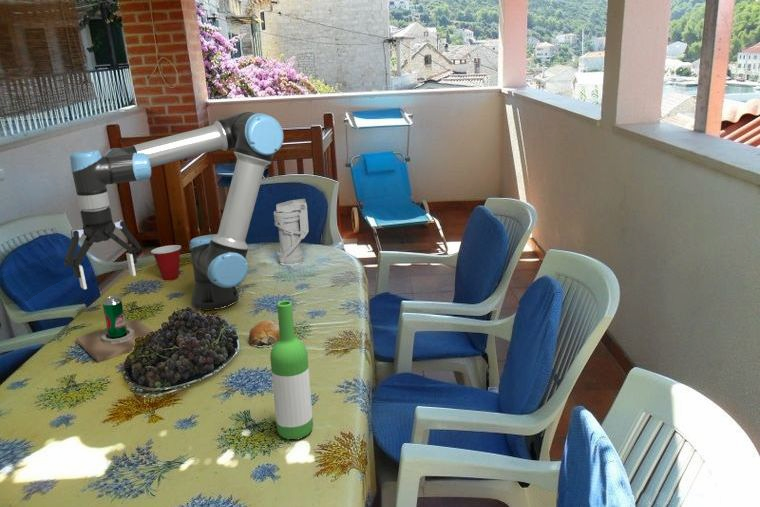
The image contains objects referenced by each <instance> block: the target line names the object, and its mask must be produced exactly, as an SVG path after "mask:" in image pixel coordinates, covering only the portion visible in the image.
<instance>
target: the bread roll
mask: <svg viewBox="0 0 760 507" xmlns="http://www.w3.org/2000/svg"><path fill="white" fill-rule="evenodd" d="M248 334H249V337H248V338H249V339H248V340H249V343H250V344H251V345H252V344H253V345H257V346H263V345H268V346H269V345H271V344H275V343H276V342H277V341H278V340H279V339H280V332H279V322H276V321H274V320H273V319H272V320H271V319H261V320H260V321H258V322H257V323H255V324H254V326H253V327H251V329H250V331H249V333H248ZM253 345H252V346H253Z"/></svg>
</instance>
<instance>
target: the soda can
mask: <svg viewBox="0 0 760 507" xmlns="http://www.w3.org/2000/svg"><path fill="white" fill-rule="evenodd" d="M102 301H103V302H102V309H103V314H104V319H105V324H106V328H107V331H108V336H109V338H110V339H118V338H122V337H125V336H127V328H126V318H125V312H124V307H123V301H122V299H121V297H120V296H116V295H115V296H114V295H113V296H108V297H105V298H104V299H103V300H102Z"/></svg>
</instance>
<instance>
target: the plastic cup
mask: <svg viewBox="0 0 760 507" xmlns="http://www.w3.org/2000/svg"><path fill="white" fill-rule="evenodd" d="M181 249H182V245H179V244H174V245H173V244H172V245H163V246H160V247H156V248H154V249H152V250H150V252H151V254H152V255H153V257H154V259H155V261H156V264H157V267H158V270H159V273H160V275H161V278H162V281H166V280H169V281H174V280H177V279H178V278H179V276H180V255H181Z"/></svg>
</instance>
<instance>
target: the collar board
mask: <svg viewBox="0 0 760 507" xmlns="http://www.w3.org/2000/svg"><path fill="white" fill-rule="evenodd" d="M125 323H126V328H127V336H125V337H122V338H118V339H110V338H109V336H108V331H107V327H106V328H104V329H100V330H97V331H94V332H89V333H87V334H84V335H83V334H82V335H81V336H76V337H75V341H76V342H75V343H77V344H78V345H79V344H80V345H81V346H82V347H83V348H84V349H85V350H86V351H87V352H88V353H89V354H88V353H87V352H86V351H85V350H84V349H83V348H82V347H81V346H80V345H79V346H80V347H81V348H82V349H83V350H84V351H85V352H86V353H87V354H88V355H89V356H90V357H92V358H93V359H94V361H95V362H97V363H102V362H105V361H108V360H111V359H113V357H114V358H117V357H119V355H120V356H122V354H123V355H125V353H126V354H128V352H129V353H131V352H130V351H132V350H133V347H134V344H135V339H136V338H138V337H144V336H146V335H147V334H148V333H149V332H152V331H154V330H153V329H151V328H150V327H148V325H146V324H144V323H143V322H141V321H140V320H138V319H132V320H129V321H125ZM132 352H133V351H132ZM116 356H117V357H116ZM110 358H111V359H110ZM104 360H105V361H104ZM101 361H102V362H101Z"/></svg>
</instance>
